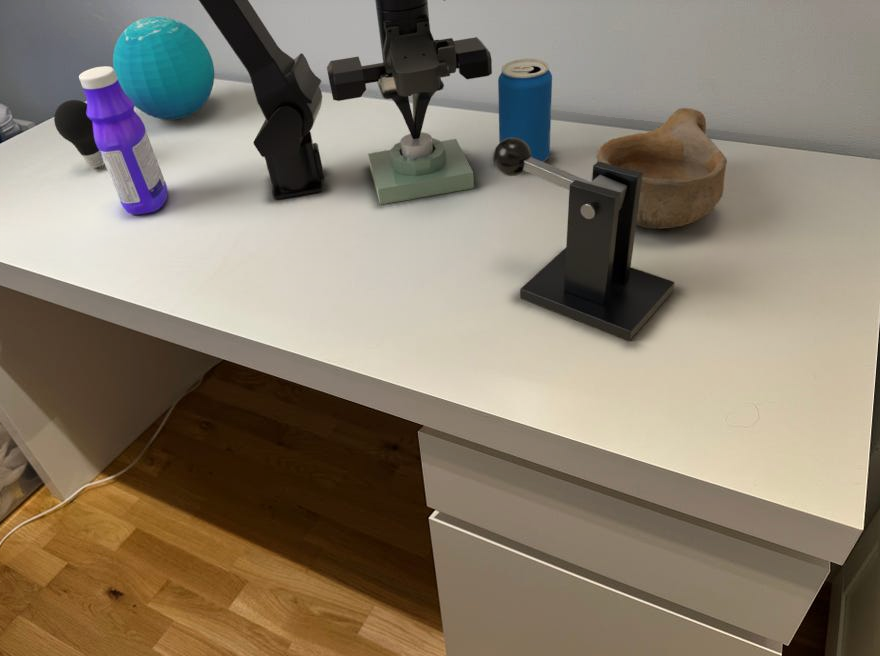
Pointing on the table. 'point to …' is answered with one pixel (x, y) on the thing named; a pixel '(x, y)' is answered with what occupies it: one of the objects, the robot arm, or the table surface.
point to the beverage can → (526, 104)
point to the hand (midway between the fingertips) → (415, 137)
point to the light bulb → (78, 130)
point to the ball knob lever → (542, 167)
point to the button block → (420, 172)
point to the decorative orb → (163, 67)
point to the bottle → (123, 142)
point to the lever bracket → (600, 261)
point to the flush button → (416, 146)
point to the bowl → (672, 169)
